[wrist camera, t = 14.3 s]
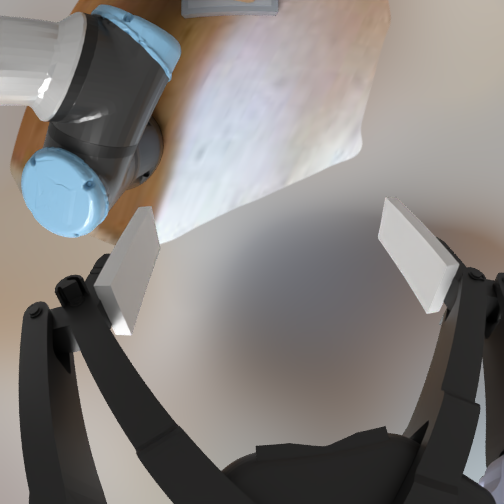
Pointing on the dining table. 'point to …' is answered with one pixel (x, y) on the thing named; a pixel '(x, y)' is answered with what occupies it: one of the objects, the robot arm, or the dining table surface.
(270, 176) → the dining table surface
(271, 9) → the slate tray
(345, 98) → the dining table surface
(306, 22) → the dining table surface
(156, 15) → the dining table surface
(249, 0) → the wooden block
